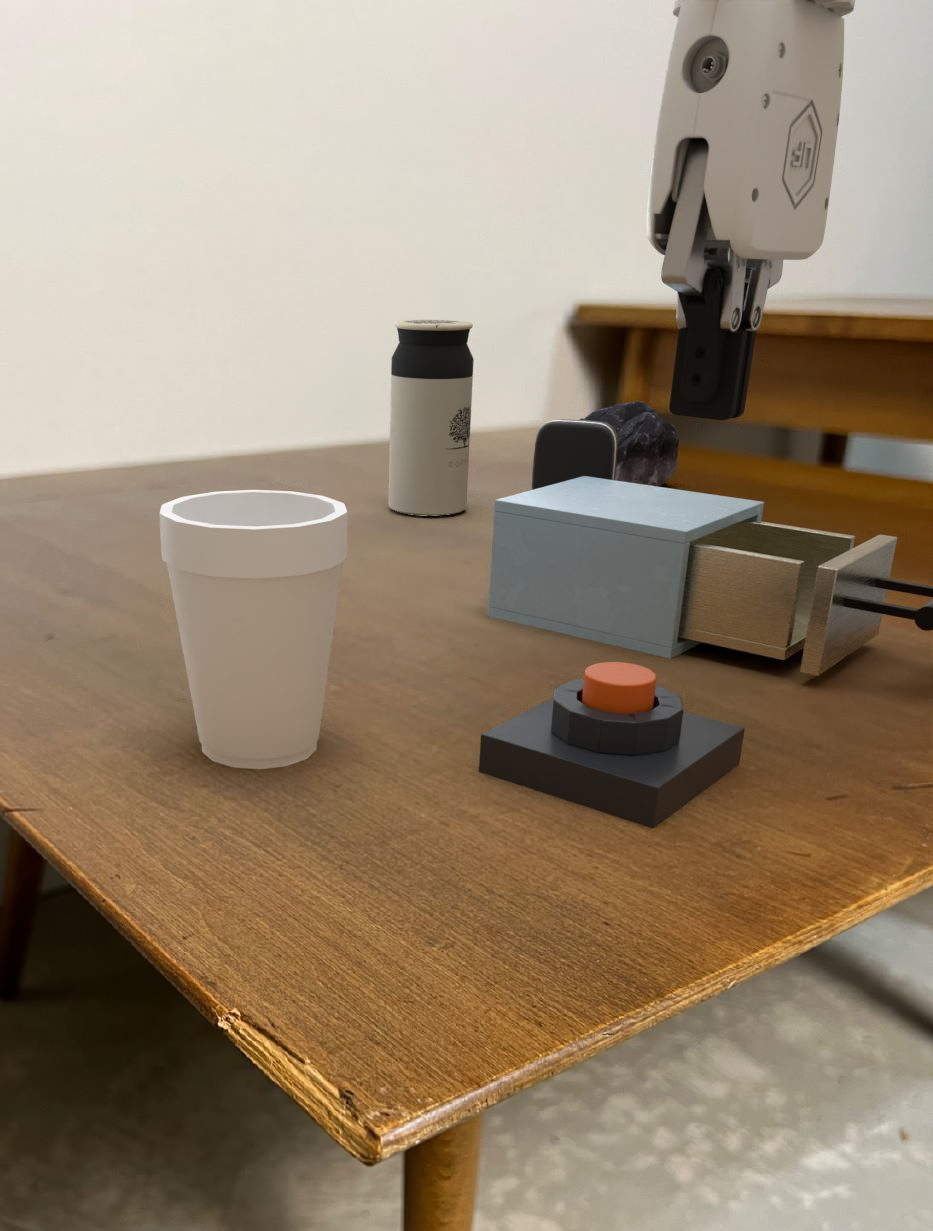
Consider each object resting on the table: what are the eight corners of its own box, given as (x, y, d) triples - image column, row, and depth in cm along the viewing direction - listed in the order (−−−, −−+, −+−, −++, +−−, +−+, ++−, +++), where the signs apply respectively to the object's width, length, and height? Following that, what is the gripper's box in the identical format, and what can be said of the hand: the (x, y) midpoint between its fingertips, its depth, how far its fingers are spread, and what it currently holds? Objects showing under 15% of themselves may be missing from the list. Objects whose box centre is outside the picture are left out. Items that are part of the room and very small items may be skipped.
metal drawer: (967, 652, 79) (991, 550, 76) (914, 698, 71) (938, 586, 68) (695, 598, 90) (707, 507, 87) (622, 632, 82) (633, 534, 79)
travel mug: (372, 508, 123) (375, 320, 115) (427, 498, 127) (433, 318, 120) (426, 521, 117) (433, 325, 110) (482, 510, 122) (492, 322, 115)
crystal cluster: (547, 476, 143) (547, 391, 139) (661, 468, 143) (665, 382, 138) (560, 508, 132) (560, 416, 127) (685, 500, 131) (690, 407, 126)
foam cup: (136, 754, 64) (119, 511, 59) (244, 703, 71) (238, 483, 66) (277, 797, 59) (273, 538, 54) (378, 739, 66) (383, 504, 61)
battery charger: (610, 551, 107) (624, 419, 102) (603, 560, 104) (617, 425, 99) (533, 543, 109) (543, 414, 105) (524, 553, 106) (534, 419, 101)
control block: (739, 765, 64) (750, 695, 62) (653, 829, 57) (662, 752, 55) (575, 719, 70) (581, 654, 68) (478, 772, 63) (482, 701, 61)
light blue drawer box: (747, 618, 89) (764, 501, 85) (670, 659, 80) (686, 531, 76) (574, 582, 97) (583, 475, 94) (487, 616, 88) (494, 499, 85)
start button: (665, 703, 62) (668, 671, 61) (632, 723, 59) (635, 690, 59) (603, 687, 64) (606, 656, 63) (568, 706, 61) (571, 673, 61)
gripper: (784, -75, 44) (711, 440, 51) (912, -8, 54) (836, 411, 62) (602, -51, 48) (559, 421, 55) (753, 7, 59) (700, 397, 66)
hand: (705, 415), depth 59 cm, fingers closed
